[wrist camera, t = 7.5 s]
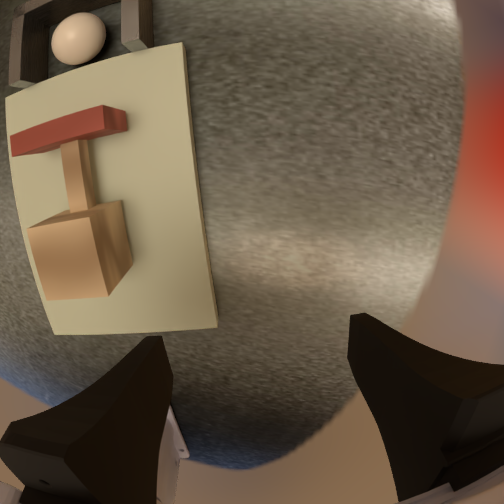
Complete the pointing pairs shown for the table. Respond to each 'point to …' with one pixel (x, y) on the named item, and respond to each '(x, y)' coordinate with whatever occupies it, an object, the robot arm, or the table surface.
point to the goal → (55, 11)
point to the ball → (78, 38)
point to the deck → (126, 191)
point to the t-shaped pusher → (77, 210)
